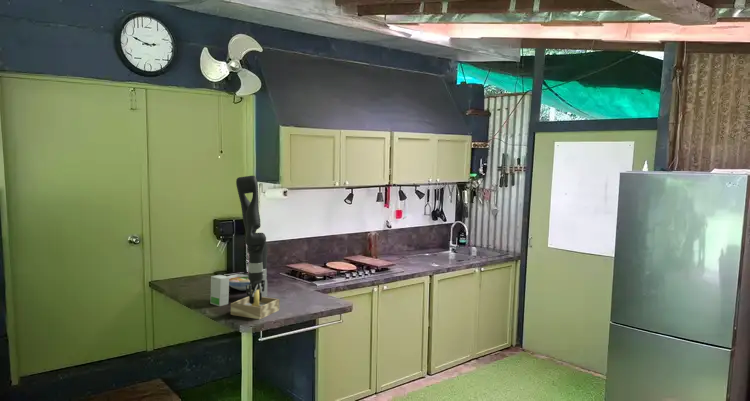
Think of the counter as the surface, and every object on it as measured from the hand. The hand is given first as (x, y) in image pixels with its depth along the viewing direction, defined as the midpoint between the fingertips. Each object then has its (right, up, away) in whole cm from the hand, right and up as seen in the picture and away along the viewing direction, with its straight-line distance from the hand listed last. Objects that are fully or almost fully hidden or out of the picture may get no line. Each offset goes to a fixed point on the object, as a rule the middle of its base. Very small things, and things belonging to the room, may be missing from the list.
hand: (255, 301), depth 274 cm
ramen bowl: (-18, -2, +49) cm, 52 cm away
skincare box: (-23, -4, +15) cm, 28 cm away
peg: (0, -6, +1) cm, 6 cm away
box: (0, -6, 0) cm, 6 cm away
